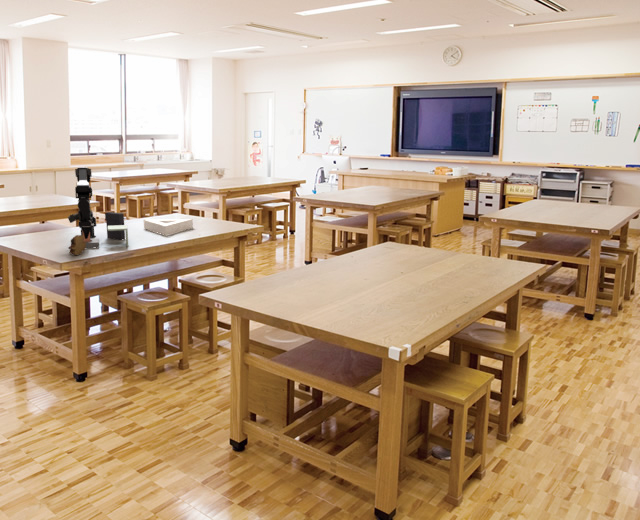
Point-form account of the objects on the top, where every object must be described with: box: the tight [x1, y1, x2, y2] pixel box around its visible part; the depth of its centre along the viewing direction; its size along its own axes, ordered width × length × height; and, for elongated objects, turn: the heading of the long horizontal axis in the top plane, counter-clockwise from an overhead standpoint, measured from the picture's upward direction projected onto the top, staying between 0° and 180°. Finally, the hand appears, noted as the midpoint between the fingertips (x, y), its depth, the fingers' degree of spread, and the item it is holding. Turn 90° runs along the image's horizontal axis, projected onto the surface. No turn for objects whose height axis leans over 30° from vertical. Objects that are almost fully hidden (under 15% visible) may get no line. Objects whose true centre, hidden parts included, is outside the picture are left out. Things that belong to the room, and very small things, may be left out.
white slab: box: [143, 218, 194, 236], centre depth 389 cm, size 30×26×6 cm
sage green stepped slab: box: [108, 224, 129, 247], centre depth 340 cm, size 12×10×10 cm
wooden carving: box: [68, 234, 86, 256], centre depth 315 cm, size 16×5×10 cm, turn 3°
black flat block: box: [104, 211, 126, 241], centre depth 357 cm, size 11×4×15 cm, turn 62°
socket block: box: [85, 238, 100, 249], centre depth 336 cm, size 12×12×3 cm
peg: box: [82, 230, 91, 242], centre depth 335 cm, size 4×4×10 cm
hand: (86, 237), depth 335 cm, fingers open, 9 cm apart
